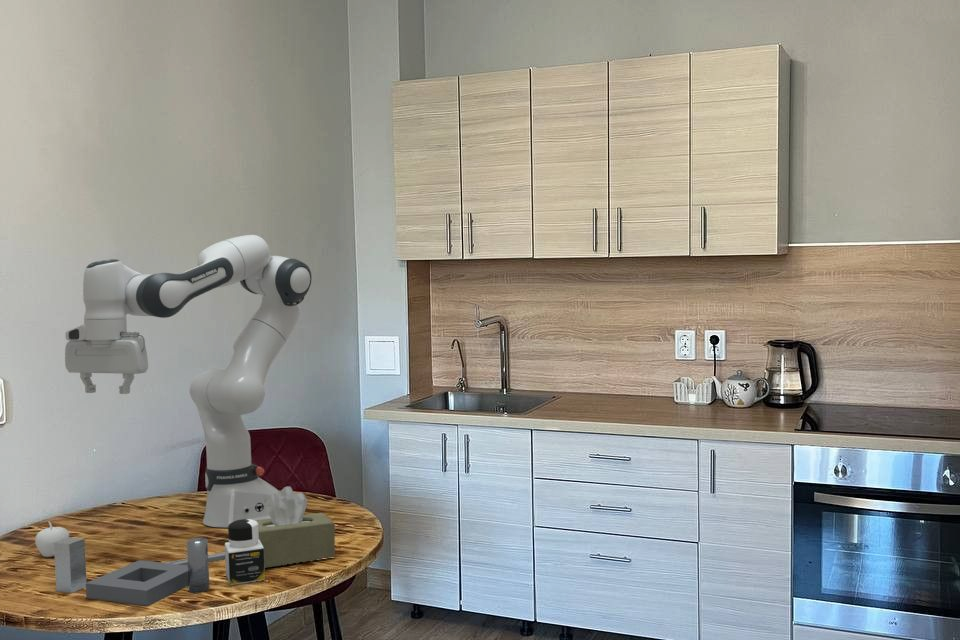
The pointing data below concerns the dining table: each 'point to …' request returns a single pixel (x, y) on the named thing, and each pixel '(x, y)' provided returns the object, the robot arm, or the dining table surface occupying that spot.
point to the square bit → (70, 564)
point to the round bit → (198, 565)
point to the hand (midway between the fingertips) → (107, 393)
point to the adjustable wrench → (210, 559)
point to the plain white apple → (49, 539)
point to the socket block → (139, 583)
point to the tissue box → (294, 531)
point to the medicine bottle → (244, 553)
